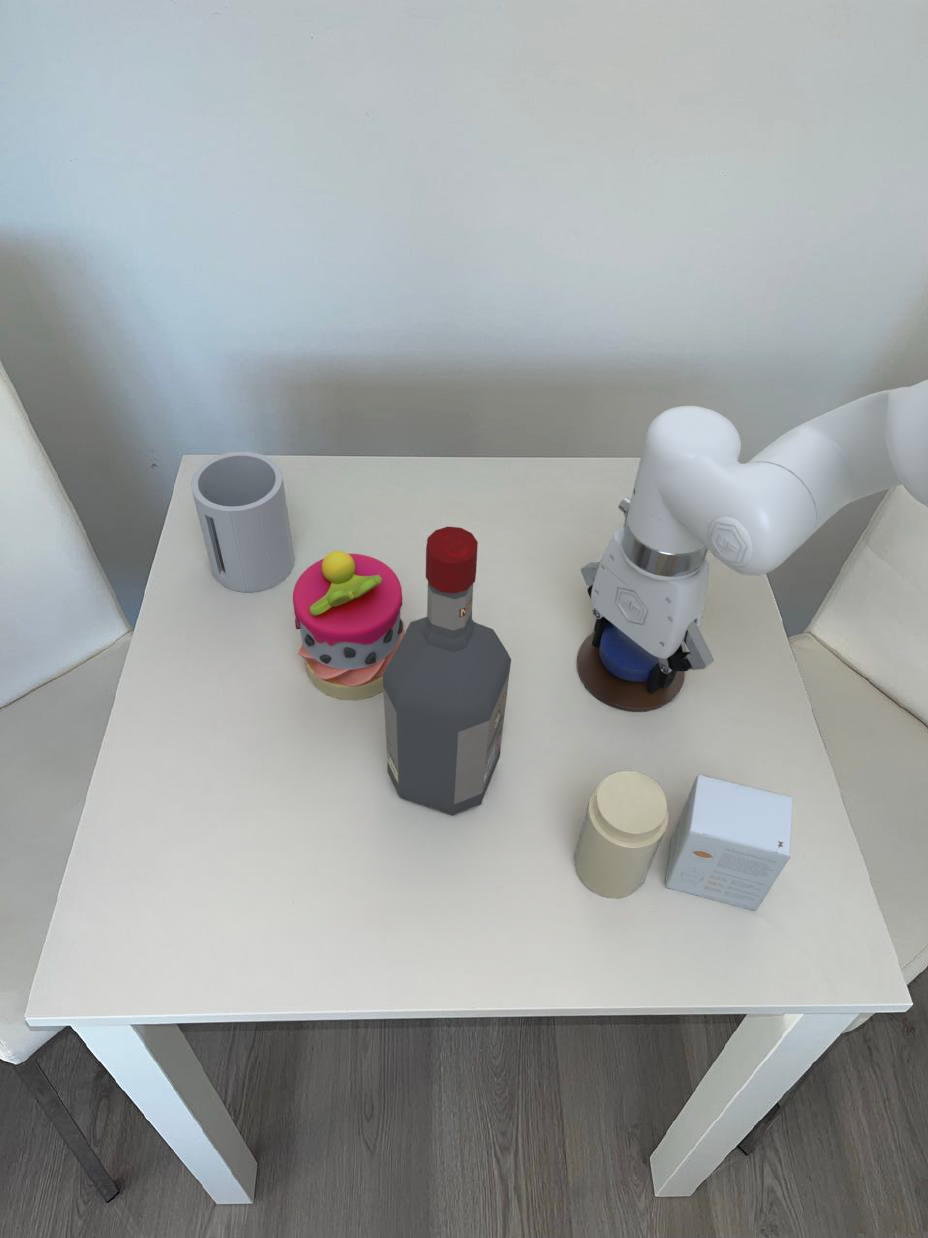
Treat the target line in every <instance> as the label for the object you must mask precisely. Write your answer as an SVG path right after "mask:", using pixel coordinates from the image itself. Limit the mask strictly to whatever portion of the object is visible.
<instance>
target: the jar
mask: <svg viewBox="0 0 928 1238" xmlns="http://www.w3.org/2000/svg"><path fill="white" fill-rule="evenodd" d="M667 802H668V800H667V797H666V795H665V792H664V790H663V789H662V787H661V786H660V785H659V784H658V783H657V782H656V781H655V780H654V779H653V778H651V777H650V776H648V775H646V774H644V773H641V772H639V771H633V770H621V771H614V772H613V773H611V774H609V775H606V776H605V777H603V779H602V780H600V782H599V783H598V785H597V786H596V787H595V789H594V790H593V791H592V793H591V795H590V798H589V799H588V804H587V808H586V813H585V815H584V819H583V822H582V826H581V830H580V834H579V837H578V841H577V845H576V848H575V852H574V857H573V863H574V868H575V869H574V870H575V872H576V875H577V876H578V878H579V880H580V881H581V883H582V884H583V885H584V886H585V888H587V889H588V890H589V891H591V892H592V893H594V894H596V895H598V896H600V897H604V898H607V899H621V898H625V897H628V896H631V895H632V894H634V893H636V892H637V891H638V890H639V889H640V888H641V887H642V885H643V884H644V883H645V880H646V878H647V875H648V873H649V871H650V868H651V866H652V864H653V861H654V859H655V856H656V854H657V851H658V848H659V846H660V845H661V842H662V840H663V837H664V836H665V835H664V834H665V832H666V829H667V827H668V823H669V811H668V803H667Z"/></svg>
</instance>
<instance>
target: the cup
mask: <svg viewBox="0 0 928 1238" xmlns="http://www.w3.org/2000/svg"><path fill="white" fill-rule="evenodd" d="M190 488H191V493H192V496H193V497H192V498H193V500H194V506H195V508H196V512H197V517H198V521H199V524H200V528H201V533H202V537H203V540H204V541H203V542H204V545H205V549H206V553H207V557H208V561H209V566H210V569H211V573H212V576H213V577H214V579H215V580H216V581H217V582H218V583H219V584H220V585H221V586H223V587H225V588H227V589H229V590H231V591H235V592H240V593H258V592H263V591H266V590H270V589H272V588H274V587H276V586H278V585H280V584H281V583H282V582H283V581H285V580H286V579H287V578H288V576H289V575H290V574H291V572H292V570H293V568H294V565H295V559H296V558H295V553H294V552H295V551H294V546H293V545H294V544H293V540H292V539H293V538H292V532H291V526H290V518H289V513H288V506H287V498H286V492H285V491H286V490H285V485H284V477H283V472H282V469H281V468H280V466H279V465H278V463H276V462H275V461H274V460H273V459H272V458H270V457H268V456H266V455H264V454H260V453H257V452H253V451H244V450H243V451H238V450H237V451H231V452H226V453H222V454H219V455H216V456H214V457H212V458H209V459H207V461H204V463H202V464H201V465H200V466H199V467H198V468H197V469H196V471H195V472H194V473H193V476H192V478H191V482H190ZM220 557H221V558H222V562H223V567H224V570H223V568H222V564H221V560H220Z"/></svg>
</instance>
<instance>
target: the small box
mask: <svg viewBox="0 0 928 1238" xmlns="http://www.w3.org/2000/svg"><path fill="white" fill-rule="evenodd" d="M693 781H694V782H693V783H692V785H691V787H690V791H689V793H688V796H687V798H686V800H685V803H684V804H683V808H682V810H681V812H680V814H679V817H678V819H677V822H676V824H675V827H674V830H673V831H672V837H671V843H670V850H669V857H668V862H667V870H666V877H665V883H664V884H665V888H667V889H670V890H675V891H679V892H682V893H686V894H689V895H694V896H697V897H702V898H705V899H709V900H712V901H717V902H721V903H725V904H729V905H732V906H737V907H741V908H743V909H747V910H751V911H758V909H759V907H760V906H761V904H762V902H763V901H764V899H765V898H766V896H767V895H768V893H769V891H770V889H771V888H772V887H773V885H774V883H775V882H776V880H777V879H778V877H779V876H780V874H781V873H782V872H783V870H784V868H785V867H786V865H787V863H788V862H789V860H790V858H791V848H792V847H791V845H792V824H793V806H794V804H793V803H794V798H793V796H790V795H785V794H782V793H777V792H773V791H770V790H769V791H768V790H764V789H760V788H756V787H753V786H748V785H745V784H740V783H735V782H732V781H727V780H723V779H718V778H714V777H710V776H706V775H703V774H696V777H695V779H694V780H693Z"/></svg>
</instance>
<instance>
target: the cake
mask: <svg viewBox="0 0 928 1238" xmlns="http://www.w3.org/2000/svg"><path fill="white" fill-rule="evenodd" d="M292 603H293V610H294V617H295V618H294V625H295V629H296V630H299V631H300V637H301V642H302V645H301V646H300V648H299V649H298V653H297V655H298V656H300V657H301V658H303V659H304V663H305V669H306V674H307V677H308V678H309V680H310V682H311V683H312V685H313V686H314V687H315V688H316V689H317V690H319V691H320V692H322V693H323V694H325V696H329V697H330V698H331V697H332V698H335V699H338V700H344V701H359V700H364V699H369V698H372V697H374V696H376V695H379V694H381V693H384V688H383V674H384V672H385V670H386V668H387V666H388V664H389V662H390V660H391V659H392V657H393V655H394V653H395V651H396V649H397V647H398V645H399V643H400V642H401V640H402V638H403V636H404V634H405V623H404V621H403V619H402V617H401V610H402V607H403V588H402V584H401V581H400V579H399V577H398V576H397V574H396V573H395V571H394V570H393V569H392V568H391V567H390V566H388V565H387V564H386V563H384V562H383V561H381V560H379V559H378V558H375V557H372V556H370V555H365V554H361V553H348V552H346V551H344V550H333V551H330V552H329V553H327V554H326V555H325V556H324V557H323V558H321V559H320V560H317V561H316V562H314V563H312V564H311V565H310V566H309V567H307V568H306V569H305V570H304V571H303V572H302V574H301V575H300V576H299V577H298V579H297V581H296V582H295V585H294V588H293V591H292Z"/></svg>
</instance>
